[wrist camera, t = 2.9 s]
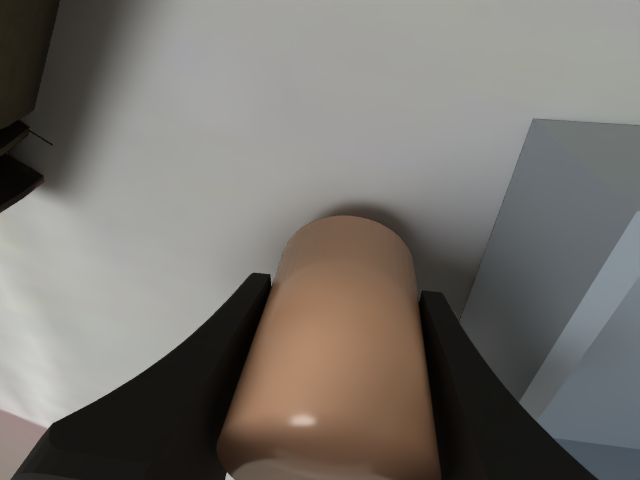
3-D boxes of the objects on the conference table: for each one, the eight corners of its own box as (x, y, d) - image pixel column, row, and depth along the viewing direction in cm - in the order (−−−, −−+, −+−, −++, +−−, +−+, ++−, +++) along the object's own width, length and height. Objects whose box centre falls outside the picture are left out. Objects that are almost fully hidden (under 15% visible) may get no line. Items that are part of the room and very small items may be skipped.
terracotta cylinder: (402, 324, 15) (418, 530, 9) (283, 311, 16) (229, 499, 10) (426, 222, 12) (468, 430, 7) (279, 209, 13) (200, 393, 7)
